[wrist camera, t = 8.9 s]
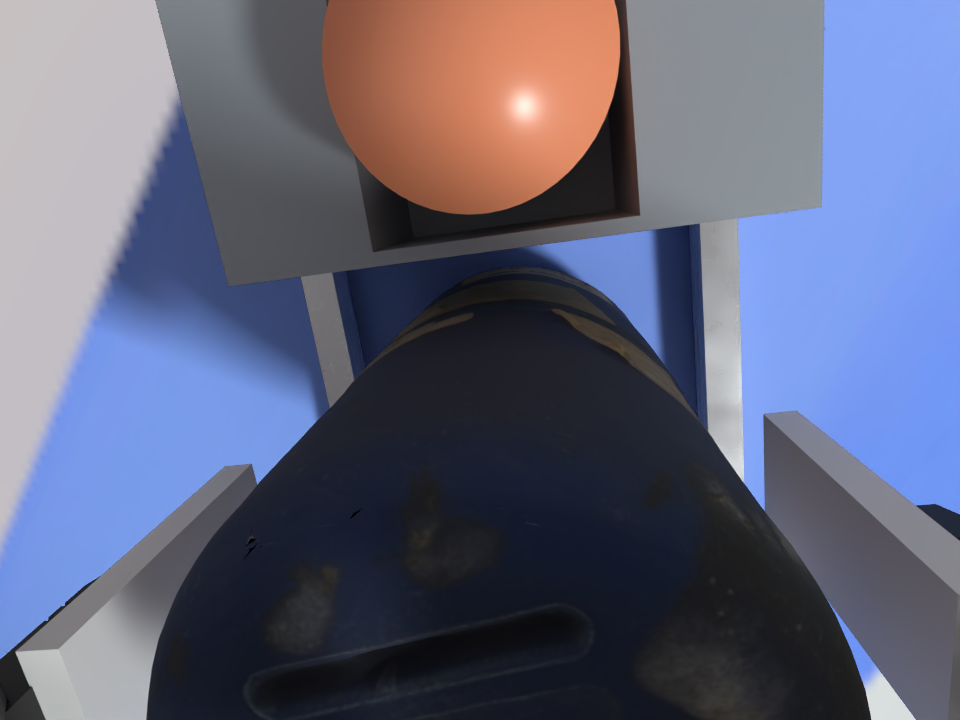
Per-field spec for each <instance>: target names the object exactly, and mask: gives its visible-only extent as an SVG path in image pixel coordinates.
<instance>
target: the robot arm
mask: <svg viewBox="0 0 960 720" xmlns="http://www.w3.org/2000/svg"><path fill="white" fill-rule="evenodd" d="M764 480H765V513H766V514H767V515H768V516H769V518H770V519H771V520H772V521H773V522H774V524H775V525H776V526H777V527H778V529H779V530H780V531H781V532H782V534H783V535H784V536H785V537H786V539H787V540H788V541H789V542H790V544H791V545H792V546H793V548H794V549H795V551H796V552H797V554H798V555H799V557H800V558H801V560H802V561H803V563H804V564H805V565H806V567H807V568H808V570H809V571H810V573H811V574H812V576H813V577H814V579H815V580H816V582H817V583H818V585H819V587H820V589H821V591H822V592H823V594H824V596H825V597H826V599H827V600H828V601H829V603H830V604H831V605H832V607H833V608H834V609H835V611H836V612H837V613H838V615H839V616H840V617H841V619H842V620H843V622H844V623H845V624H846V626H847V627H848V628H849V630H850V631H851V632H852V634H853V635H854V636H855V638H856V639H857V640H858V642H859V643H860V645H861V646H862V647H863V649H864V650H865V651H866V653H867V654H868V655H869V657H870V658H871V659H872V661H873V662H874V663H875V665H876V666H877V668H878V669H879V670H880V672H881V673H882V674H883V676H884V677H885V678H886V680H887V681H888V682H889V684H890V685H891V686H892V688H893V689H894V690H895V692H896V693H897V695H898V696H899V697H900V699H901V700H902V701H903V703H904V704H905V705H906V707H907V708H908V709H909V711H910V712H911V713H912V715H913V716H914V718H915V719H916V720H960V515H959V514H957V513H955V512H952V511H950V510H948V509H945V508H943V507H941V506H939V505H936V504H931V505H918V506H915V505H914V504H913V503H912V502H910V501H909V500H908V499H907V498H905V497H904V496H903V495H902V494H900V493H899V492H898V491H897V490H895V489H894V488H893V487H892V486H890V485H889V484H888V483H887V482H885V481H884V480H883V479H882V478H880V477H879V476H878V475H877V474H875V473H874V472H873V471H872V470H870V469H869V468H868V467H867V466H865V465H864V464H863V463H862V462H860V461H859V460H858V459H857V458H855V457H854V456H853V455H852V454H850V453H849V452H848V451H847V450H845V449H844V448H843V447H842V446H840V445H839V444H838V443H837V442H835V441H834V440H833V439H832V438H830V437H829V436H828V435H827V434H825V433H824V432H823V431H822V430H820V429H819V428H818V427H817V426H815V425H814V424H813V423H812V422H810V421H809V420H808V419H807V418H805V417H804V416H803V415H802V414H800V413H799V412H798V411H789V412H779V413H769V414H764ZM256 486H257V482H256V478H255V474H254V471H253V467H252V464H245V465H235V466H225V467H224V468H223V469H222V470H220V471H219V472H218V473H217V474H216V475H215V476H214V477H212V478H211V479H210V480H209V481H208V482H207V483H206V484H205V485H203V486H202V487H201V488H200V489H199V490H198V491H197V492H195V493H194V494H193V495H192V496H191V497H190V498H189V499H188V500H186V501H185V502H184V503H183V504H182V505H181V506H180V507H179V508H177V509H176V510H175V511H174V512H173V513H172V514H171V515H169V516H168V517H167V518H166V519H165V520H164V521H163V522H162V523H160V524H159V525H158V526H157V527H156V528H155V529H154V530H152V531H151V532H150V533H149V534H148V535H147V536H146V537H145V538H143V539H142V540H141V541H140V542H139V543H138V544H137V545H135V546H134V547H133V548H132V549H131V550H130V551H129V552H128V553H126V554H125V555H124V556H123V557H122V558H121V559H120V560H119V561H117V562H116V563H115V564H114V565H113V566H112V567H111V568H109V569H108V570H107V571H106V572H105V573H104V574H103V575H102V576H100V577H98V578H97V579H95V580H93V581H92V582H90V583H88V584H87V585H85V586H84V587H83V588H82V589H81V590H79V591H78V592H77V593H76V594H75V595H74V596H73V597H71V598H70V599H69V600H68V601H67V602H66V603H65V606H61V607H60V608H59V609H58V610H56V611H55V612H54V613H53V614H52V615H51V616H50V617H49V619H48V621H44V622H43V623H42V624H40V625H39V626H38V627H37V628H36V629H35V630H34V631H32V632H31V633H30V634H29V635H28V636H27V637H26V638H24V639H23V640H22V641H21V642H20V643H19V644H18V645H16V646H15V647H14V648H13V649H12V650H11V651H10V652H8V653H7V654H6V655H5V656H4V657H3V658H2V659H0V720H146V716H147V703H148V693H149V685H150V678H151V670H152V665H153V660H154V656H155V652H156V648H157V643H158V639H159V636H160V634H161V631H162V629H163V626H164V624H165V621H166V618H167V616H168V613H169V611H170V608H171V606H172V604H173V601H174V599H175V597H176V594H177V592H178V590H179V589H180V587H181V585H182V583H183V581H184V580H185V578H186V576H187V575H188V573H189V571H190V570H191V568H192V566H193V564H194V563H195V561H196V560H197V558H198V556H199V555H200V554H201V552H202V551H203V549H204V548H205V546H206V545H207V544H208V542H209V541H210V539H211V538H212V537H213V535H214V534H215V533H216V532H217V531H218V529H219V528H220V527H221V526H222V525H223V524H224V522H225V521H226V520H227V519H228V518H229V517H230V516H231V515H232V514H233V513H234V512H235V510H236V509H237V508H238V507H239V506H240V505H241V504H242V503H243V501H244V500H245V499H246V498H247V497H248V496H249V494H250V493H251V492H252V491H253V490H254V488H255V487H256Z"/></svg>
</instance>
